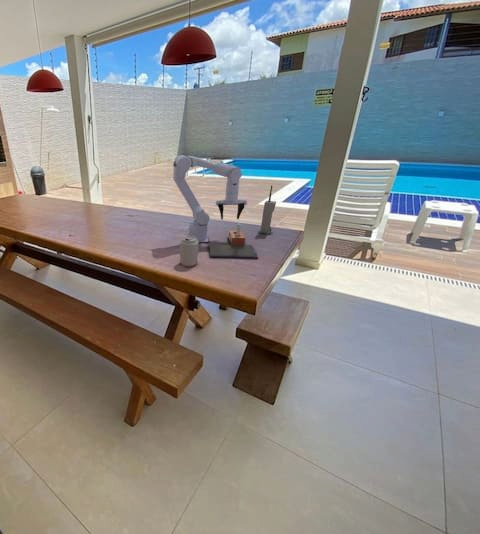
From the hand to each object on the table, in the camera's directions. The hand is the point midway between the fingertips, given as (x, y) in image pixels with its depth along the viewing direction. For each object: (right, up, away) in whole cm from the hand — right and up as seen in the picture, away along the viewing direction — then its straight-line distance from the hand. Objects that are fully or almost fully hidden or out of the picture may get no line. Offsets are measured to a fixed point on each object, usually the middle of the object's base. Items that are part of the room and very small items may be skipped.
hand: (229, 218), depth 156 cm
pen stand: (+3, -12, 0) cm, 12 cm away
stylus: (+3, -13, -2) cm, 13 cm away
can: (-26, -23, -20) cm, 40 cm away
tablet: (-3, -18, -12) cm, 22 cm away
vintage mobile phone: (+22, -6, +9) cm, 25 cm away
